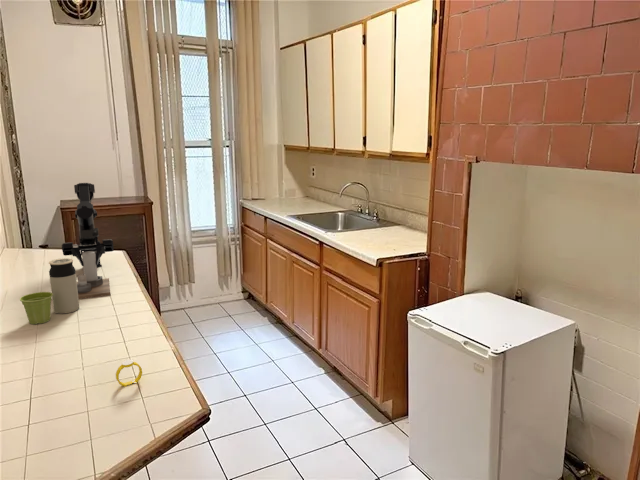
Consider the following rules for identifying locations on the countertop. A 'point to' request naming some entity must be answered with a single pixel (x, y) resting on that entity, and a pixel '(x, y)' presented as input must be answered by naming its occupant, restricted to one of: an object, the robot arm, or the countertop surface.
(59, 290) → the travel mug
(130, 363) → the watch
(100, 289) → the pin board
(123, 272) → the countertop surface
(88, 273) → the beverage can
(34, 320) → the plant pot
